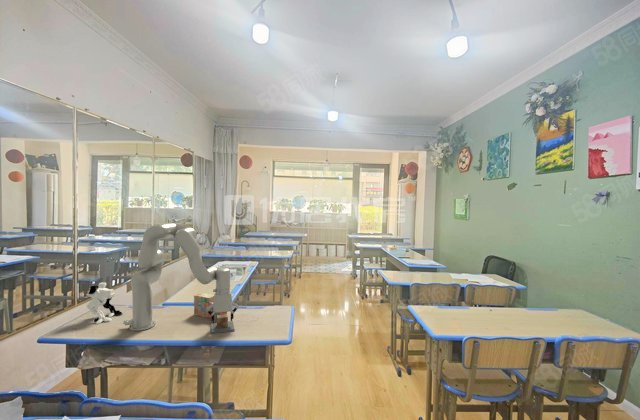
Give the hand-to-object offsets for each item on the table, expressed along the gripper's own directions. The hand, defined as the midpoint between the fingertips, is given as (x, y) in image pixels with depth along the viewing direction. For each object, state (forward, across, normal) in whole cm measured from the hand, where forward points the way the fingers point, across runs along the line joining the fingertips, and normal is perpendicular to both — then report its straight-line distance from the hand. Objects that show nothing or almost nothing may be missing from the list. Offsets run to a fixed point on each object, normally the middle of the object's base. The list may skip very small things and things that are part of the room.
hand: (222, 321), depth 168 cm
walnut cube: (+3, 0, 0) cm, 3 cm away
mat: (+4, 0, 0) cm, 4 cm away
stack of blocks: (+4, -6, +21) cm, 23 cm away
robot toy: (+4, -66, +37) cm, 75 cm away
